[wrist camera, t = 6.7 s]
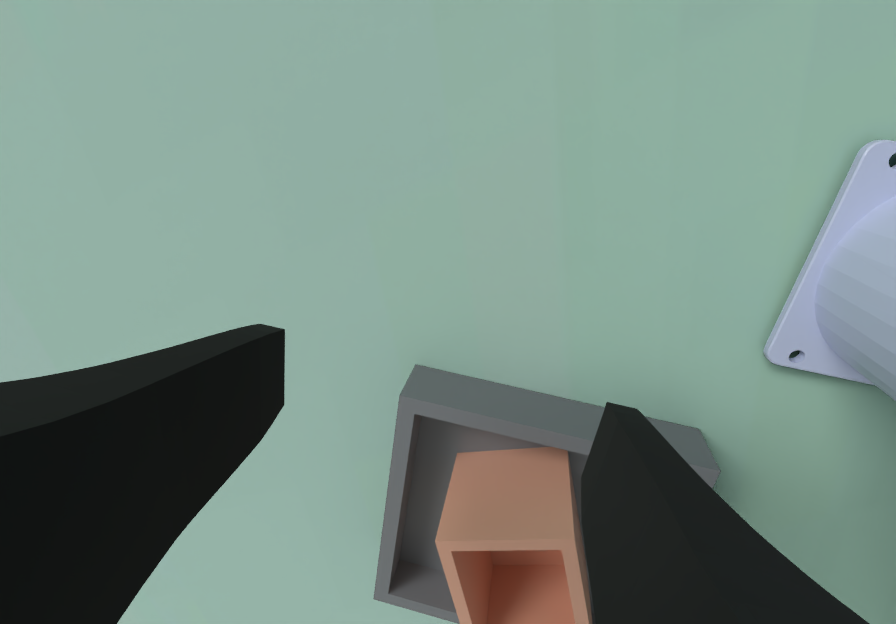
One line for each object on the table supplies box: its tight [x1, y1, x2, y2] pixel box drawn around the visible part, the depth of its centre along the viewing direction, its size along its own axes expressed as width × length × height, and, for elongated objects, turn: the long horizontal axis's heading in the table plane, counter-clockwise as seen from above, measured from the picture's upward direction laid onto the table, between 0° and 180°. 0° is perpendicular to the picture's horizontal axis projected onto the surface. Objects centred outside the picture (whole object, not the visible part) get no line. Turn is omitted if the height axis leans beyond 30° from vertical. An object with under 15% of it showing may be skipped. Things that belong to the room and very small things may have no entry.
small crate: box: [435, 447, 592, 624], centre depth 20 cm, size 5×7×5 cm
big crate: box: [374, 365, 721, 624], centre depth 22 cm, size 12×12×3 cm
